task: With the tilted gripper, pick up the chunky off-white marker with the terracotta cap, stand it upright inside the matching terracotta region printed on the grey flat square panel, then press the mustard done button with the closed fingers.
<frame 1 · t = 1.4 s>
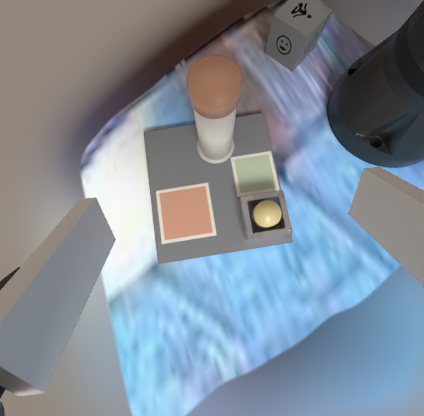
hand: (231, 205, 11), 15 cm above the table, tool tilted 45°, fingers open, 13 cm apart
grey smiley picture cube: (288, 51, 30), on the table
marker: (215, 145, 27), point 1 cm above the table, touching grey flat square panel
done button: (265, 214, 23), point 3 cm above the table, slide at 0.0 cm
grey flat square panel: (214, 185, 27), on the table
button housing: (261, 217, 25), resting on grey flat square panel
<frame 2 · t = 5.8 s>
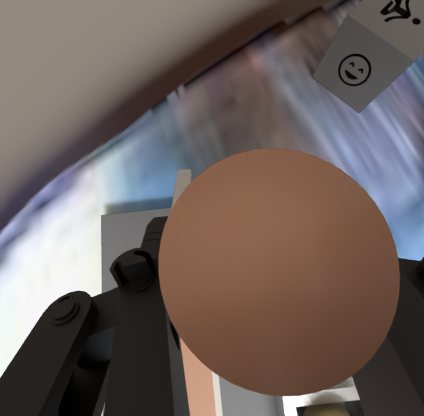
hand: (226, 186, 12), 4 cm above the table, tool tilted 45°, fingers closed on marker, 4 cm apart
grey smiley picture cube: (351, 79, 18), on the table
marker: (230, 250, 14), point 1 cm above the table, touching gripper
grey flat square panel: (224, 325, 14), on the table
button housing: (316, 410, 13), resting on grey flat square panel
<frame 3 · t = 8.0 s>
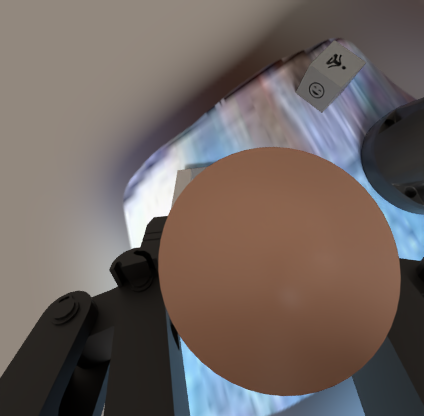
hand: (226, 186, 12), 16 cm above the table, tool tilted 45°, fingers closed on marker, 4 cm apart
grey smiley picture cube: (318, 93, 32), on the table
marker: (230, 250, 14), point 13 cm above the table, touching gripper
when the fingers open (5 cm above the table, at t = 10.3 s): marker drops 1 cm, resting on grey flat square panel.
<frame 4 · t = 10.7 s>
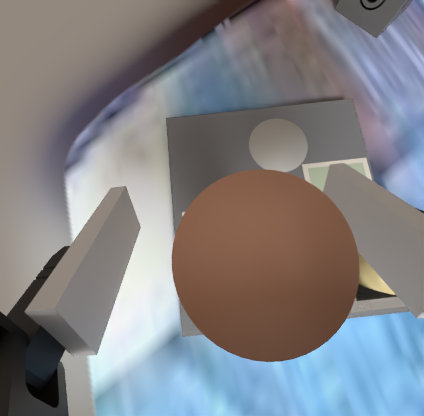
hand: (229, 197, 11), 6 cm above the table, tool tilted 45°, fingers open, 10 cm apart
grey smiley picture cube: (368, 11, 21), on the table
marker: (229, 250, 15), point 1 cm above the table, touching grey flat square panel
done button: (378, 267, 13), point 3 cm above the table, slide at 0.0 cm
grey flat square panel: (273, 207, 17), on the table
button housing: (355, 264, 15), resting on grey flat square panel
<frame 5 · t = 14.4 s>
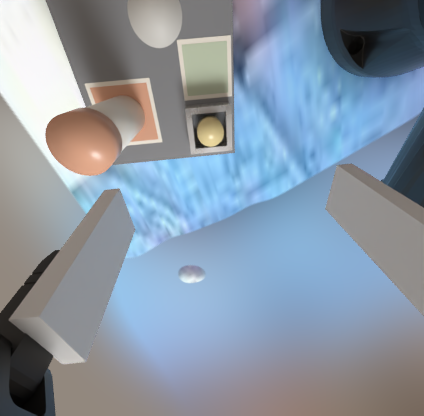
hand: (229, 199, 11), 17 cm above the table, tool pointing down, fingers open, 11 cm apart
marker: (126, 115, 23), point 1 cm above the table, touching grey flat square panel
done button: (210, 130, 23), point 3 cm above the table, slide at 0.0 cm
grey flat square panel: (157, 80, 22), on the table
button housing: (208, 126, 24), resting on grey flat square panel
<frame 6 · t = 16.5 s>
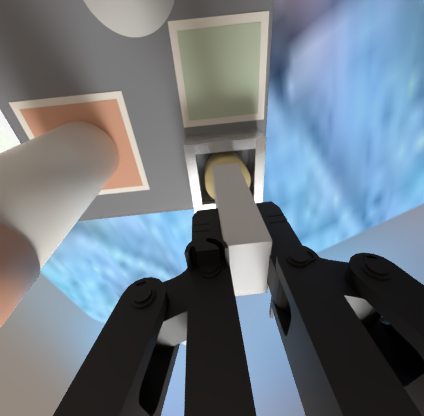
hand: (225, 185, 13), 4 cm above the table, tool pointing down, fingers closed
marker: (88, 152, 14), point 1 cm above the table, touching grey flat square panel
done button: (226, 176, 14), point 3 cm above the table, slide at 0.4 cm, touching gripper
grey flat square panel: (137, 93, 13), on the table
button housing: (223, 165, 15), resting on grey flat square panel
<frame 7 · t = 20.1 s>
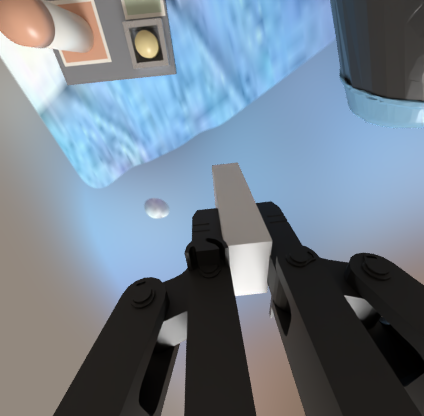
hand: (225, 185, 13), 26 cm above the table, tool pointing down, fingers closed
marker: (77, 34, 27), point 1 cm above the table, touching grey flat square panel
done button: (147, 45, 27), point 2 cm above the table, slide at 0.7 cm
grey flat square panel: (101, 1, 27), on the table
button housing: (149, 46, 29), resting on grey flat square panel
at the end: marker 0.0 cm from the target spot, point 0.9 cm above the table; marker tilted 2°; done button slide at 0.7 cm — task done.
